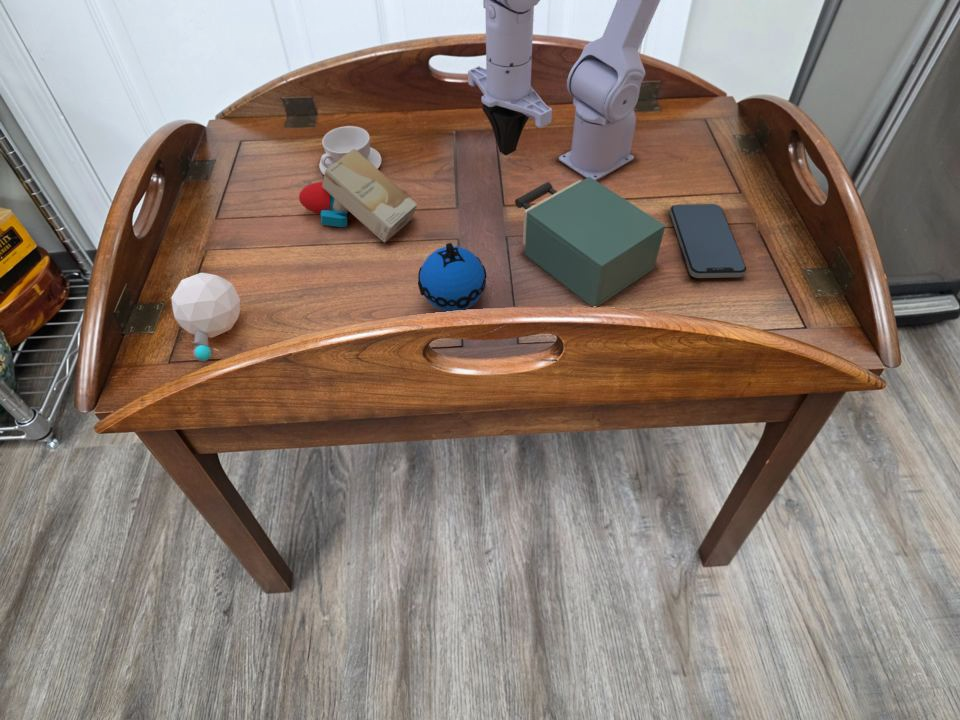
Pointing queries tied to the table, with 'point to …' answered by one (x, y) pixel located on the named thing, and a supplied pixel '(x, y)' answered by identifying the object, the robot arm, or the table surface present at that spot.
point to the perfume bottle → (205, 309)
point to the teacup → (347, 146)
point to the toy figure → (323, 205)
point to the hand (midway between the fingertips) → (507, 150)
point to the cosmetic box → (368, 195)
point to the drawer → (534, 195)
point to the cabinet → (592, 240)
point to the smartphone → (707, 241)
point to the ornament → (452, 278)
